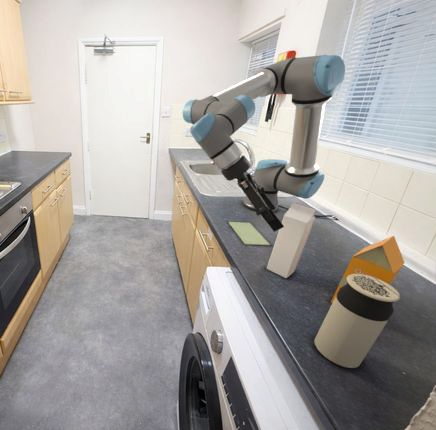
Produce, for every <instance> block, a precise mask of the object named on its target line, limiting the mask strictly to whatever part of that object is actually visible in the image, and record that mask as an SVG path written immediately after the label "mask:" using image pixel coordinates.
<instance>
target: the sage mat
mask: <svg viewBox="0 0 436 430" xmlns="http://www.w3.org/2000/svg"><path fill="white" fill-rule="evenodd" d="M228 224H229V225H230V226H231V228H232V229H233V231H234V232H235V233H236V234H237V236H238V237H239V238H240V240H241V241H242V243H243V244H244V245H247V246H266V247H267V246H268V247H269V246H271V244H270V243H269V242H268V241H267V239H266V238H265V237H264V236H263V235H262V234H261V233H260V231H258V229H257V228H256V227H254V226H253V224H252V223H251V222H244V221H243V222H242V221H228Z"/></svg>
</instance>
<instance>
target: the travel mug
mask: <svg viewBox="0 0 436 430" xmlns="http://www.w3.org/2000/svg"><path fill="white" fill-rule="evenodd" d="M400 299H401V295H400V292H399V291H398V290H397V289H396V288H394V287H393V286H392V285H391V286H390V285H389V284H387V283H385V282H383V281H381V280H379V279H377V278H374V277H371V276H367V275H362V274H351V275H349V276H348V277H347V284H346V285H344V286H342V287H341V288H340V289H339V291H338V293H337V295H336V297H335V299H334V301H333V303H331V305H330V307H329V310H328V311H327V313H326V315H325V317H324V320H323V321H322V323H321V325H320V328H319V330H318V331H317V334H316V335H315V338H314V345H315V347H316V349H317V350H318V352H319V353H320V354H321V355H323V357H324V358H326V359H327V360H329V361H331V362H332V363H334V364H336V365H338V366H340V367H343V368H347V369H356V368H358V367H360V365H362V363H363V361H364V360H365V358H366V356H367V355H368V353H369V352H370V350H371V349H372V347H373V346H374V343H375V342H376V341H377V339H378V338H379V336H380V334H381V333H382V331H383V330H384V328H385V326H386V325H387V324H388V322H389V320H390V319H391V317H392V316H393V314H394V312H395V311H394V305H393V304H394V302H398V301H399V300H400Z"/></svg>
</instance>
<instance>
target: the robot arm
mask: <svg viewBox="0 0 436 430" xmlns="http://www.w3.org/2000/svg"><path fill="white" fill-rule="evenodd" d="M345 74H346V65H345V62H344V59H342V57H341V56H340V55H336V54H329V55H328V54H322V55H321V54H320V55H312V56H311V55H310V56H302V57H301V56H300V57H291V58H286V59H282V60H280V61H277V62H275V63H272V64H269V65H267V66H264V67H262V68H260V69H259V70H256V71H255V72H254V73H253V75H252V76H250V77H248V78H246V79H243V80H242V81H239V82H237V83H235V84H233V85H231V86H228V87H226V88H224V89H221V90H220V91H217V92H216V93H215V92H214V93H213V94H211V95H209V96H206V97H204V98H201V99H197V98H196V99H190V100H187V102H186V103H185V104H184V105H183V109H182V118H183V120H184V122H185V123H187V124H192V125H191V126H190V127H189V132H190V134H191V137H192V138H194V141H195V142H196V143H197V144H198V146H200V148H201V149H202V151H203V152H204V153H205V154H206V155H207V156H208V158H209V159H210V160H211V165H212V166H215V167H216V168H217V169H218V170H220V174H222V176H223V177H224V178H225V180H226V181H228V182H230V181H234V180H236V181H237V183H236V184H237V186H238V187H239V188H240V189H241V190H242V192H243V193H244V194H245V197H244V199H243V201H242V205H243V206H244V207H245V208H248V209H249V210H252V211H255V213H256V216H261V217H262V218H263V219H264V221H265V222H266V224H267V225H268V226H269V227H270V229H271V230H272V231H273V232H274V233H275V232H277V231H279V229H281V228H283V227H284V226H283V224H282V221H281V220H280V219H279V217H277V215H276V214H275V213H274V212H277V211H278V209H279V208H281V209H284V210H286V211H288V210H289V207H286V206H283V205H279V199H278V198H279V197H278V193H279V192H281V193H284V194H286V195H287V194H288V195H291V196H294V197H296V198H302V199H310V198H312V197H313V196H314V195H316V193H317V192H318V191H319V189H320V188H321V186H322V185H323V182H324V181H325V174H324V173H323V172H321V171H319V169H320V165H319V163H318V162H316V161H317V156H318V150H319V144H320V138H321V132H322V126H323V125H322V124H323V120H324V115H325V108H326V104H327V103H328V102H329V101H330V100H332V98H333V96H334V95H336V94H337V93H338V92H339V90H340V89H341V88H342V86H343V85H342V83H343V82H344V79H345ZM269 95H291V103H292V105H294V106H295V112H294V121H293V129H292V137H291V138H292V139H291V148H290V155H289V162H288V161H287V160H284V159H275V158H274V159H273V158H272V159H271V158H269V159H261V160H259V161H258V162H257V164H256V167H255V169H254V175H253V176H252V174H251V173H250V172H248V170H249V169H251V167H252V164H251V162H250V161H249V159H247V157H246V156H245V155H242V154H243V151H242V150H241V149H240V147H239V146H238V145H237V144H236V143H235V141H234V140H233V139H232V137H231V136H233V135H234V134H235V133H236V132H237V131H238V130H239V129H241V128H242V127H243V126H244V125H246V124H247V123H248V122H249V120H250V119H251V118H252V117H253V116H254V115H255V113H256V104H255V101H254V100H255V99H257V98H259V97H260V98H265V97H267V96H269ZM314 216H315V218H332V219H335V220H336V221H339V218H338V217H337V218H338V219H337V218H335V217H336V216H335V217H332V216H333V215H331V214H326V215H325V214H323V215H319V214H314Z"/></svg>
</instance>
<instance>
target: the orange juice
mask: <svg viewBox="0 0 436 430" xmlns="http://www.w3.org/2000/svg"><path fill="white" fill-rule="evenodd" d="M351 257H352V258H351V259H350V261H349V264H348V266H347V268H346V270H345V272H344V274H343V276H342V278H341V279H340V281H339V283H338V285H337V288H336V290H335V292H334V295H333V297H332V299H331V301H330V303H331V304H332V303H333V301H334V299H335V297H336V295H337V293H338V291H339V289H340V288H341V287H342V286H344V285H346V284H347V277H348V276H349V275H351V274H362V275H367V276H371V277H374V278H377V279H379V280H381V281H383V282H385V283H387V284H389V285H390V286H392V284H393V283H394V281H395V279H396V277H397V276H398V275H399V272H400V271H401V269H402V267H403V266H404V264H405V260H404V257H403V255H402V253H401V250H400V248H399V245H398V242H397V239H396V237H395V235H392V236H390V237H389V236H388V237H387V238H385V239H382V240H380V241H377V242H374V243H373V244H370V245H367V246H365V247H363V248H362V249H361V250H359V251H358V252H357V253H355V254H354V255H353V256H351Z"/></svg>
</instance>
